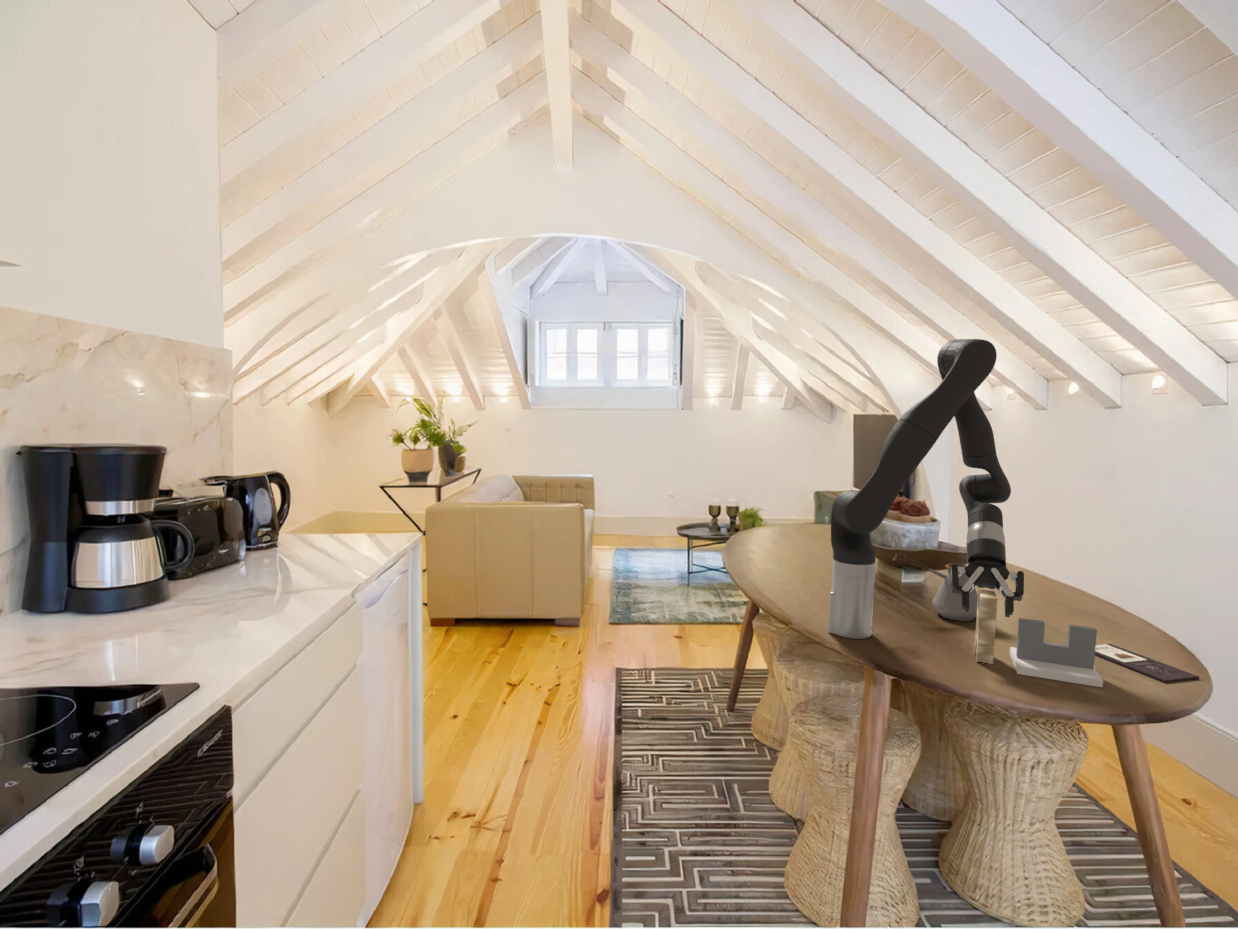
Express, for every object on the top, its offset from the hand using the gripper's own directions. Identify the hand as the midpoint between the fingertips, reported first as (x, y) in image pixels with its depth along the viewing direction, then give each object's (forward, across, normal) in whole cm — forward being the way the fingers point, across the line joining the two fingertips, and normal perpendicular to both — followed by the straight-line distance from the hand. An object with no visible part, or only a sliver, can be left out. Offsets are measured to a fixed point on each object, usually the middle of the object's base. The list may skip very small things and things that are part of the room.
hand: (987, 612), depth 135 cm
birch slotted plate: (+6, 0, +8) cm, 11 cm away
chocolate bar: (-2, +29, +17) cm, 34 cm away
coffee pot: (-14, -8, +29) cm, 33 cm away
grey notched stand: (+6, +12, +8) cm, 16 cm away
